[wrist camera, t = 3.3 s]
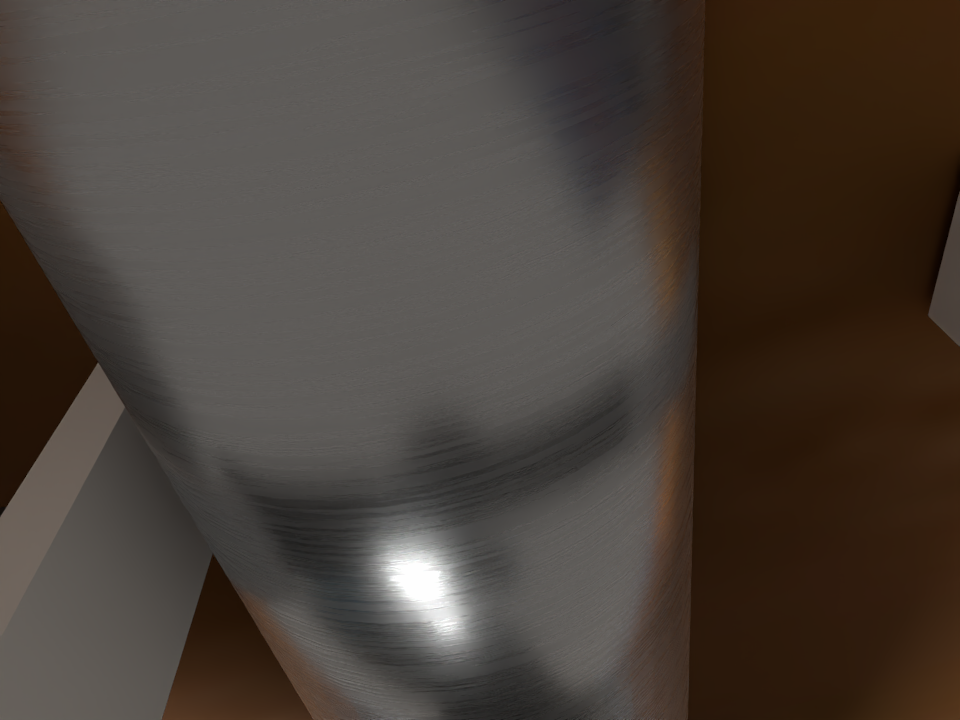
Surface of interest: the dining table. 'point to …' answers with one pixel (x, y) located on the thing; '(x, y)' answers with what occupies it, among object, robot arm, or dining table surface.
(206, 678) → the dining table surface
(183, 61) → the steel roller
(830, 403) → the dining table surface
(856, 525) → the dining table surface
